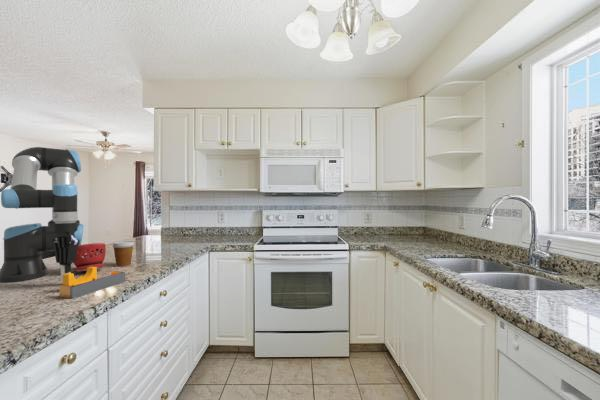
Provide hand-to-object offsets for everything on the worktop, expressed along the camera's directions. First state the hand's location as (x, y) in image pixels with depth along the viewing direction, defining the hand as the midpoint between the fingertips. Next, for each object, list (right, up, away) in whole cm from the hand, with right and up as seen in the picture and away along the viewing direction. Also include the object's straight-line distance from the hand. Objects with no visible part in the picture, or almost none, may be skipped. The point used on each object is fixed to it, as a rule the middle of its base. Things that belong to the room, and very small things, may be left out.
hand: (65, 280), depth 110 cm
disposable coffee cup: (+3, -2, +32) cm, 32 cm away
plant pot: (-5, -1, +19) cm, 19 cm away
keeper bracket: (+16, -2, -5) cm, 17 cm away
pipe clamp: (+7, -2, -2) cm, 7 cm away
